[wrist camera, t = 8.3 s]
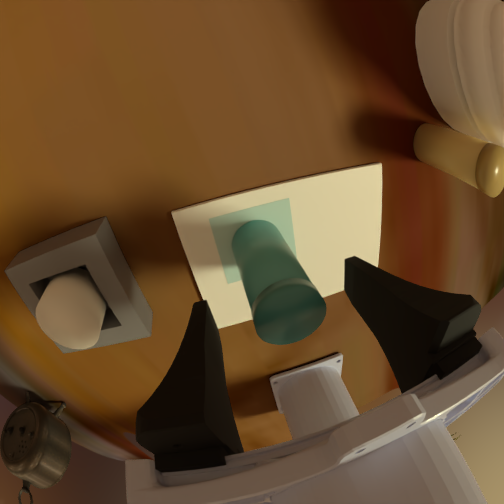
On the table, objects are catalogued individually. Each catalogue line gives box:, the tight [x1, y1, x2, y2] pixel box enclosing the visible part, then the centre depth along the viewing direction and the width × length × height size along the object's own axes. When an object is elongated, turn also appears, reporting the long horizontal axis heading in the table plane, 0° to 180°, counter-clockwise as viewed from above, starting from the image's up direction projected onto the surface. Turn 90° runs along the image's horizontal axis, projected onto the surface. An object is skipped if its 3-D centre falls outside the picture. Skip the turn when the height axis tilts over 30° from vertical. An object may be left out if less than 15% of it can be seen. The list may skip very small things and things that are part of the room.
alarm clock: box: [0, 391, 71, 504], centre depth 16 cm, size 11×5×16 cm, turn 108°
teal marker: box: [232, 220, 326, 345], centre depth 15 cm, size 3×3×7 cm
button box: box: [4, 217, 153, 353], centre depth 16 cm, size 8×8×2 cm
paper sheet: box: [171, 163, 382, 329], centre depth 19 cm, size 10×14×1 cm
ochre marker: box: [413, 123, 504, 197], centre depth 14 cm, size 3×3×7 cm
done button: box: [36, 267, 108, 349], centre depth 15 cm, size 4×4×3 cm
